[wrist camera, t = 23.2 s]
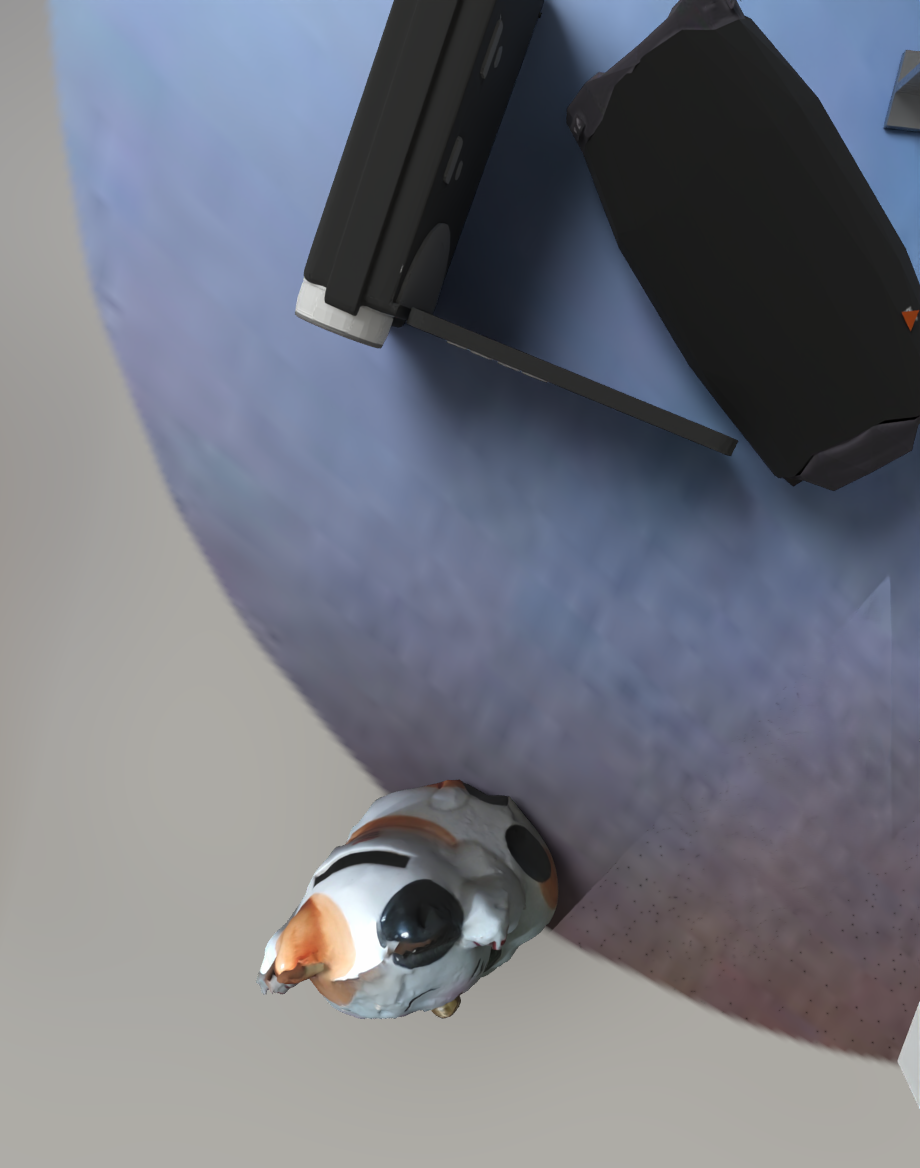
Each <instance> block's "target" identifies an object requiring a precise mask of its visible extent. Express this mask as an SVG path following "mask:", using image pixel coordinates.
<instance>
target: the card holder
mask: <svg viewBox="0 0 920 1168" xmlns="http://www.w3.org/2000/svg"><path fill="white" fill-rule="evenodd" d="M883 128H890V129H899V130H907V131H916V132H920V51H911V50H906V51H905V52H904V53H903V54H902V58H901V62H900V66H899V70H898V73H897V77H896V81H895V85H894V89H893V93H892V96H891V100H890V104H889V108H888V112H887V116H886V119H885V123H884V127H883Z"/></svg>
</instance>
